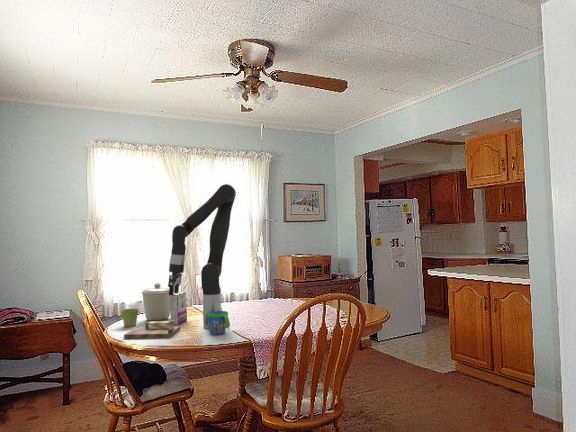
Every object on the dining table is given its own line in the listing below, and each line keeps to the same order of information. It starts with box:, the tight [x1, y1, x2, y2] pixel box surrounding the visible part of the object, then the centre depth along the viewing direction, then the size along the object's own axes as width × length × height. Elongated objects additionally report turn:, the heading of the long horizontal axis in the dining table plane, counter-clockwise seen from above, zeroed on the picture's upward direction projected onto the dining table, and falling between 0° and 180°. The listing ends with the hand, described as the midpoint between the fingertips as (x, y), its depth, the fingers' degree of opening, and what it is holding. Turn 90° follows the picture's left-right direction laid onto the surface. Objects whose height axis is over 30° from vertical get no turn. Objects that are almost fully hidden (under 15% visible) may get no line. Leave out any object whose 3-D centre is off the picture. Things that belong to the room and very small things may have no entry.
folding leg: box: [145, 319, 175, 329], centre depth 215 cm, size 14×3×4 cm, turn 88°
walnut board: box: [123, 326, 181, 340], centre depth 210 cm, size 22×16×4 cm
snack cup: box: [205, 310, 231, 336], centre depth 208 cm, size 16×10×10 cm
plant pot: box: [120, 308, 140, 328], centre depth 234 cm, size 9×9×9 cm
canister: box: [141, 282, 171, 322], centre depth 252 cm, size 18×18×21 cm
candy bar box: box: [170, 291, 188, 326], centre depth 239 cm, size 11×5×16 cm, turn 168°
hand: (173, 294), depth 224 cm, fingers open, 8 cm apart
